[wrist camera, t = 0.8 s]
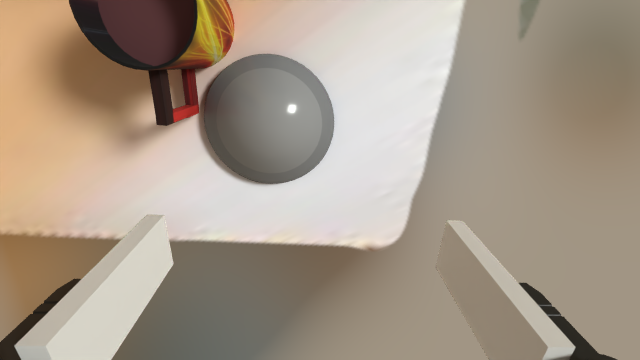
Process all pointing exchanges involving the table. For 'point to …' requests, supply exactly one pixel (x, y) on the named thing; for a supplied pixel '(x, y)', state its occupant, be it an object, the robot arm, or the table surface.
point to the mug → (160, 41)
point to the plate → (269, 118)
